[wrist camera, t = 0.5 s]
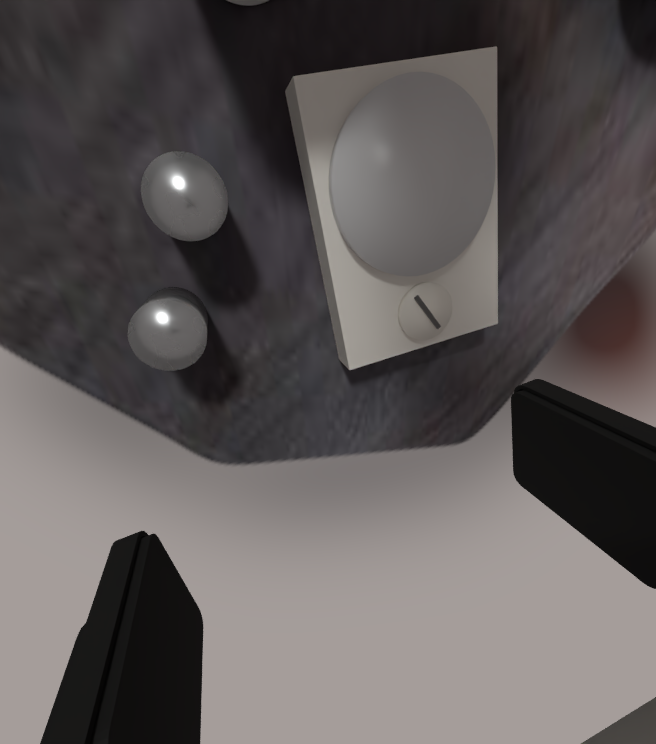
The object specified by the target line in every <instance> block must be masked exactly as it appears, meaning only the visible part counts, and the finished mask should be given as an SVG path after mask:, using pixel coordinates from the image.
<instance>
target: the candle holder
mask: <svg viewBox="0 0 656 744" xmlns="http://www.w3.org/2000/svg"><path fill="white" fill-rule="evenodd" d="M226 1H229V2H231V3H234V4H238V5H245V6H252V5H259V4H262V3H265V2H267V1H269V0H226Z"/></svg>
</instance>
